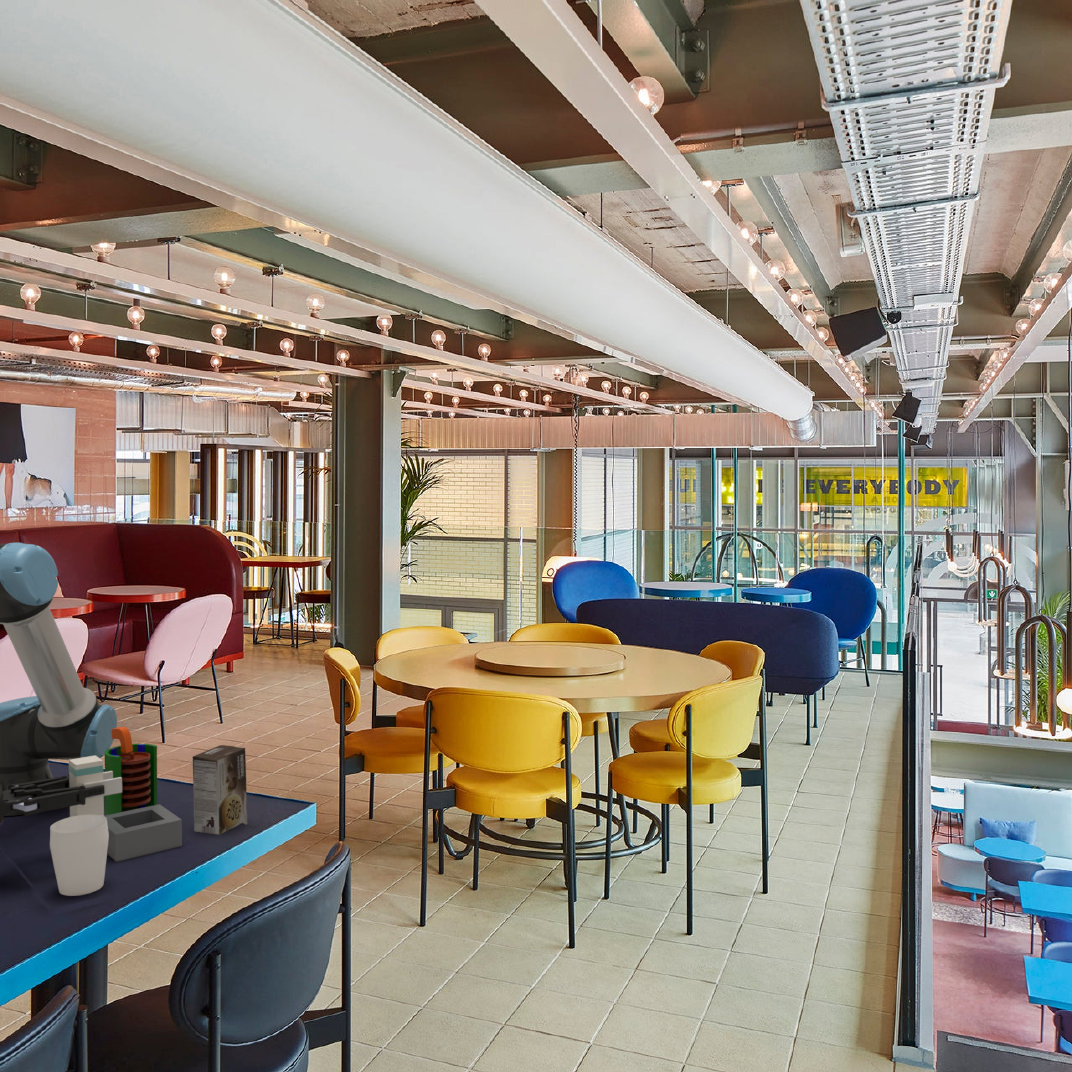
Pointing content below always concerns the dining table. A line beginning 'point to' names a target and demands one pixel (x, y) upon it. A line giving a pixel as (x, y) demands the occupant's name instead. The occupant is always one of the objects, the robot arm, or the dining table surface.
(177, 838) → the socket
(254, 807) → the dining table surface
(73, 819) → the cup
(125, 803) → the motor
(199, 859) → the dining table surface
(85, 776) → the plug
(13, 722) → the robot arm
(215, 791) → the coffee box
